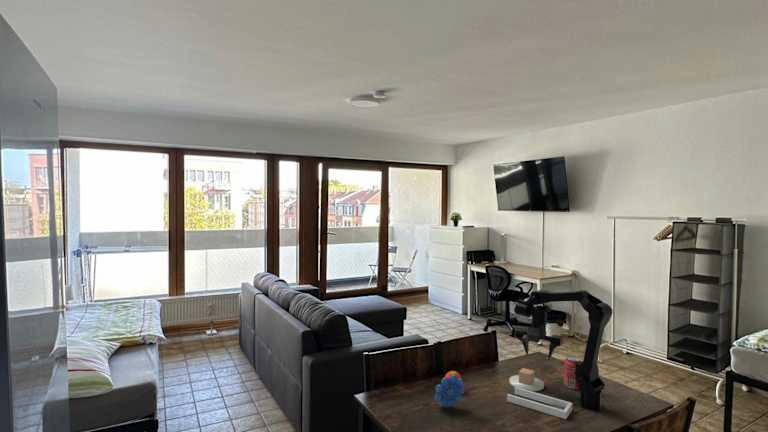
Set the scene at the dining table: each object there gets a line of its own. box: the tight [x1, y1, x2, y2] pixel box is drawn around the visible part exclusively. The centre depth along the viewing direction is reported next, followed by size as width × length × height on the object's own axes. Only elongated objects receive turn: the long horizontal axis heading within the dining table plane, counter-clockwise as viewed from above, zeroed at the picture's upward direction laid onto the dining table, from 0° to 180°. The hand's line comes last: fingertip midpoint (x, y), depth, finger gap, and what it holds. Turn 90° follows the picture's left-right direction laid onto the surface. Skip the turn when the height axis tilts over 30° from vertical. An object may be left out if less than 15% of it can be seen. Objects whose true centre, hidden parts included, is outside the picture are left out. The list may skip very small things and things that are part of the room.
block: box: [518, 367, 535, 385], centre depth 176 cm, size 5×5×4 cm
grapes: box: [434, 375, 466, 408], centre depth 156 cm, size 12×7×12 cm, turn 96°
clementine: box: [444, 370, 462, 379], centre depth 171 cm, size 8×7×7 cm
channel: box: [506, 387, 573, 420], centre depth 157 cm, size 22×9×2 cm, turn 52°
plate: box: [508, 374, 545, 392], centre depth 176 cm, size 14×14×1 cm
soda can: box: [563, 355, 582, 390], centre depth 174 cm, size 7×7×12 cm
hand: (538, 356), depth 175 cm, fingers open, 9 cm apart
